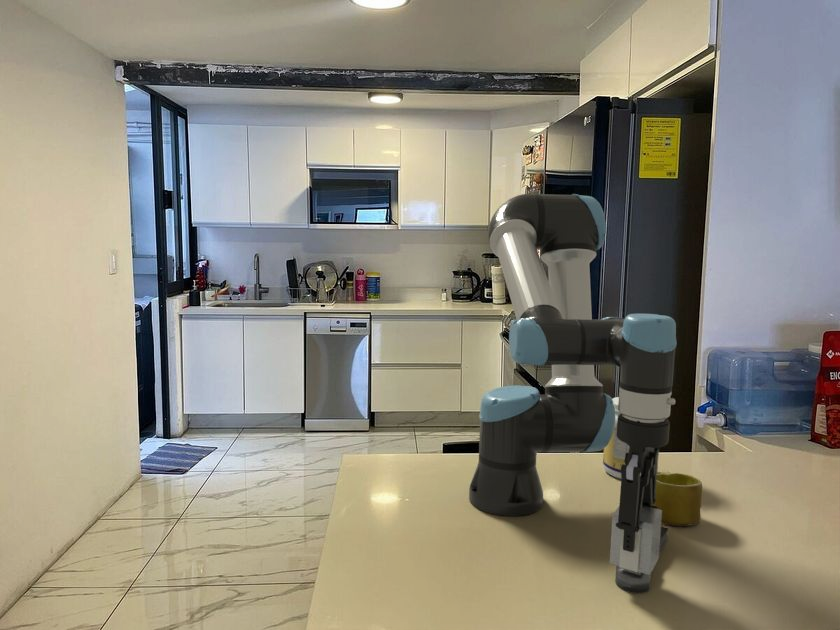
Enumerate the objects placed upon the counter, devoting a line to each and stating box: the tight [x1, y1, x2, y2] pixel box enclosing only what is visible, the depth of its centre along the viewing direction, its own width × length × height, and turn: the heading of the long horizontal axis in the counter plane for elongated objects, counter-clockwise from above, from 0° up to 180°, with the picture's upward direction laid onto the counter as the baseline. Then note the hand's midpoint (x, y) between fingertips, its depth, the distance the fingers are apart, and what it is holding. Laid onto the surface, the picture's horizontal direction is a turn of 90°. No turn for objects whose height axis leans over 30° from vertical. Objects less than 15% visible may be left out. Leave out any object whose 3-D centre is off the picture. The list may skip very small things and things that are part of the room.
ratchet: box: [614, 526, 669, 594], centre depth 105 cm, size 21×5×6 cm, turn 147°
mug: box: [653, 470, 703, 527], centre depth 123 cm, size 12×10×10 cm
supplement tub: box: [602, 396, 660, 480], centre depth 145 cm, size 12×12×17 cm
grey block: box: [609, 505, 662, 575], centre depth 98 cm, size 6×6×8 cm
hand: (634, 559), depth 98 cm, fingers closed on grey block, 6 cm apart
